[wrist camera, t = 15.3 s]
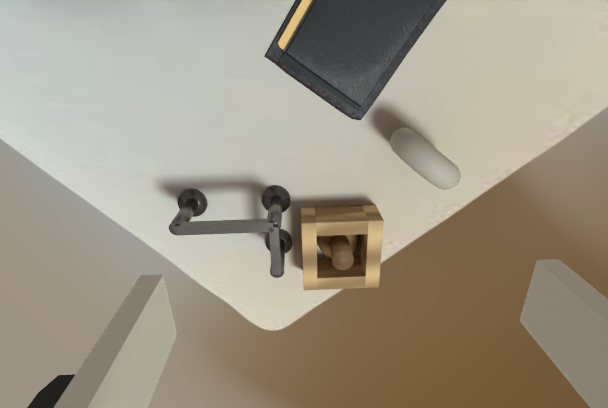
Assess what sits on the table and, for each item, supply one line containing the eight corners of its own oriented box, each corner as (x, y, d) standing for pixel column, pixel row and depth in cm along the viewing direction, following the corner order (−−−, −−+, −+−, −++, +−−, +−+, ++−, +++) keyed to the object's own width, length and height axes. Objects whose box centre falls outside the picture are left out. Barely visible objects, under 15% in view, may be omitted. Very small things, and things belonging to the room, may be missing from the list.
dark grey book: (358, 126, 46) (258, 53, 42) (356, 123, 47) (260, 53, 44) (470, -22, 39) (364, -125, 35) (463, -20, 41) (361, -117, 37)
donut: (376, 136, 48) (396, 157, 38) (393, 115, 46) (418, 132, 37) (429, 177, 50) (459, 206, 41) (446, 158, 49) (481, 184, 40)
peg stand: (318, 222, 53) (321, 242, 47) (358, 220, 53) (365, 241, 47) (318, 256, 55) (321, 279, 50) (356, 254, 55) (363, 278, 50)
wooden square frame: (300, 207, 52) (301, 223, 47) (375, 204, 52) (383, 220, 47) (302, 270, 56) (303, 290, 52) (371, 267, 56) (378, 287, 52)
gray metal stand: (176, 189, 50) (155, 216, 42) (289, 185, 50) (289, 212, 42) (189, 255, 55) (171, 291, 47) (292, 251, 55) (292, 286, 47)
